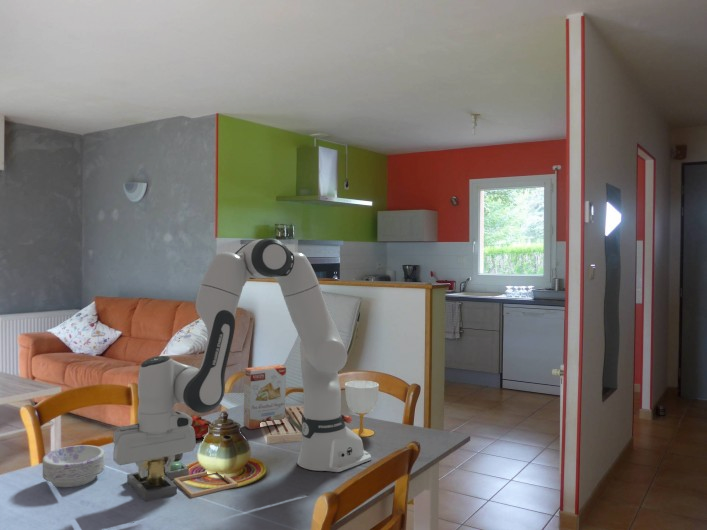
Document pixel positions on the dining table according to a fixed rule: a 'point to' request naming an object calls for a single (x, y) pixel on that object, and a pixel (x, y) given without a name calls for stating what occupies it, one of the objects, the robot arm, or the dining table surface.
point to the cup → (361, 401)
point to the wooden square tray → (207, 491)
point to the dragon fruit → (200, 426)
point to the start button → (175, 466)
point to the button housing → (178, 472)
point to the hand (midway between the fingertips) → (155, 474)
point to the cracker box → (264, 395)
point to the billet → (155, 471)
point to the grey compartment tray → (151, 488)
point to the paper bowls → (73, 465)
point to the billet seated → (139, 473)
